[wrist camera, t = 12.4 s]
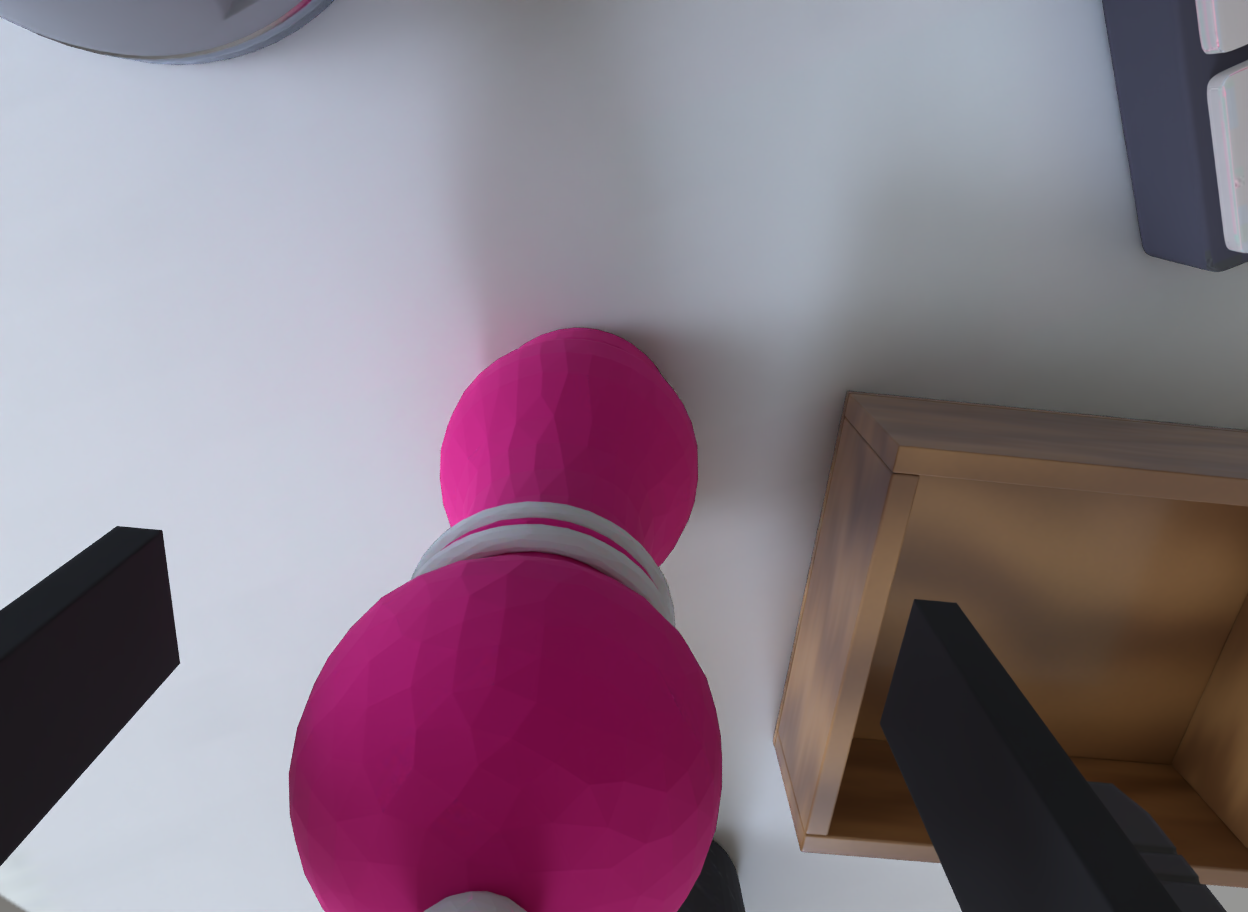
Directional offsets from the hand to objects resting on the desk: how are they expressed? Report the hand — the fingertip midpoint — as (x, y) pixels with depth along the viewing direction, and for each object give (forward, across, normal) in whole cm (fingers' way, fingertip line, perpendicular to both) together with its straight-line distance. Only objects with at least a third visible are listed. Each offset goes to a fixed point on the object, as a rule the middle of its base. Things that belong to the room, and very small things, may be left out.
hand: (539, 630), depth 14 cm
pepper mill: (+13, 0, 0) cm, 13 cm away
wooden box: (+13, +17, -6) cm, 22 cm away
